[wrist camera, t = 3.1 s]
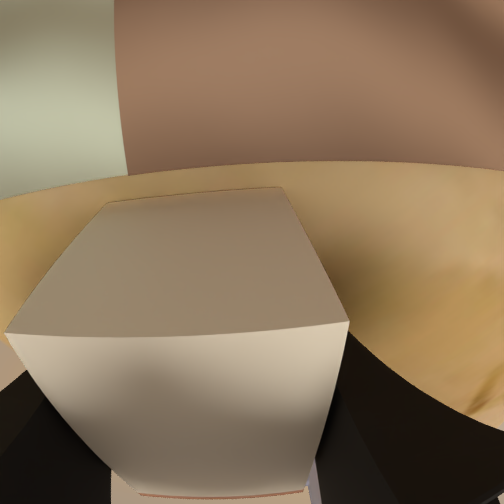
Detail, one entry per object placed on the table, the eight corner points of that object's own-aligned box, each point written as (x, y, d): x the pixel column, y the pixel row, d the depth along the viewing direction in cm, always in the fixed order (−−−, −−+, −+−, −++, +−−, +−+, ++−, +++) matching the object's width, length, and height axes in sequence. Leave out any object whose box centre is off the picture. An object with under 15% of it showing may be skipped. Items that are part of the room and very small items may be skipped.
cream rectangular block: (279, 365, 12) (302, 491, 7) (157, 372, 12) (141, 495, 7) (281, 187, 9) (349, 321, 4) (106, 203, 8) (4, 332, 4)
